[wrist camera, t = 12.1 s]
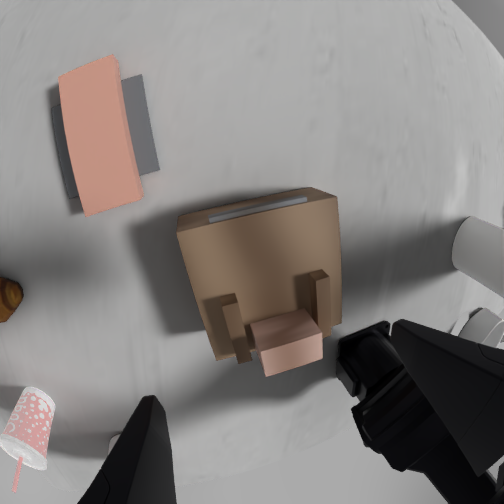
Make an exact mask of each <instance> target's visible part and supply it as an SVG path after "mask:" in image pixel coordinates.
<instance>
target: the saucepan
mask: <svg viewBox="0 0 504 504" xmlns="http://www.w3.org/2000/svg"><path fill="white" fill-rule="evenodd" d="M458 337H461V338H464V339H467V340H471V341H474V342H476V343H480V344H484V345H487V346H491V347H494V348H497V347H498V345H499V343H501V342H504V319H503V320H502V319H501V318H499V317H498V316H497V315H495V314H494V313H493V312H491V311H490V310H488V309H487V308H484V309H482V310H480V311H479V312H478V313H476V314H475V315H473V316H472V317H471V318H470V319H469V321H467V323H466V324H465V325H464V326H463V328H462V330H461V331H460V333H459V335H458Z"/></svg>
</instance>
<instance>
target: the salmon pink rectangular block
mask: <svg viewBox="0 0 504 504" xmlns="http://www.w3.org/2000/svg"><path fill="white" fill-rule="evenodd" d="M58 80H59V91H60V100H61V108H62V115H63V122H64V128H65V134H66V140H67V145H68V150H69V155H70V160H71V164H72V168H73V173H74V177H75V181H76V185H77V189H78V192H79V196H80V200H81V203H82V207H83V210H84V213H85V217H87V216H90V215H93V214H96V213H99V212H102V211H106V210H109V209H112V208H115V207H118V206H121V205H125V204H128V203H131V202H135V201H138V200H141V199H142V198H143V196H144V193H143V189H142V185H141V181H140V177H139V173H138V168H137V164H136V160H135V155H134V151H133V146H132V141H131V136H130V132H129V126H128V121H127V116H126V110H125V104H124V98H123V92H122V86H121V79H120V71H119V64H118V60H117V59H116V58H115V57H114V55H113V54H112V55H110V56H107V57H104V58H101V59H99V60H96V61H93V62H91V63H88V64H86V65H84V66H81V67H79V68H76V69H74V70H72V71H70V72H68V73H65V74H63V75H61V76H59V77H58Z"/></svg>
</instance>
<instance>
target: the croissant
mask: <svg viewBox="0 0 504 504" xmlns="http://www.w3.org/2000/svg"><path fill="white" fill-rule="evenodd" d="M23 297H24V294H23V289H22V288H21V286H20V284H19V283H17V282H15V281H12V280H10V279H7V278H3V277H0V323H1V322H6V321H7V320H8V319H9V318H10V316H11V315H12V314H13V313H14V312H15V310H16V309H17V307H18V306H19V304H20V303H21V301H22V299H23Z"/></svg>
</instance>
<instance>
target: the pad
mask: <svg viewBox="0 0 504 504" xmlns="http://www.w3.org/2000/svg"><path fill="white" fill-rule="evenodd" d="M121 86H122V92H123V98H124V104H125V110H126V116H127V121H128V126H129V132H130V136H131V141H132V146H133V151H134V155H135V160H136V164H137V168H138V173H139V176H141V175H144V174H148V173H151V172H155V171H159V170H160V168H159V164H158V159H157V154H156V150H155V145H154V140H153V135H152V130H151V125H150V119H149V114H148V108H147V102H146V97H145V90H144V84H143V78H142V75H137V76H134V77H131V78H127V79H124V80H121ZM52 115H53V123H54V129H55V136H56V141H57V147H58V152H59V157H60V162H61V167H62V171H63V175H64V180H65V184H66V188H67V192H68V195H69V199H71V198H74V197H76V196H79V192H78V189H77V185H76V181H75V177H74V173H73V168H72V164H71V160H70V155H69V150H68V145H67V140H66V134H65V128H64V122H63V115H62V108H61V104H60V105H58V106H56V107H53V108H52Z"/></svg>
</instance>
